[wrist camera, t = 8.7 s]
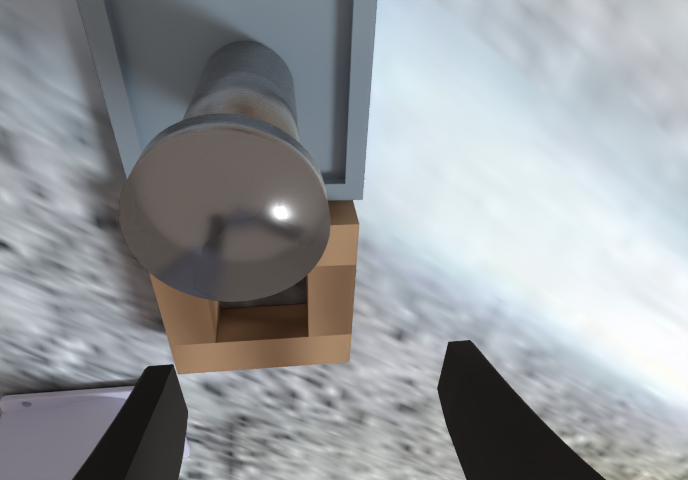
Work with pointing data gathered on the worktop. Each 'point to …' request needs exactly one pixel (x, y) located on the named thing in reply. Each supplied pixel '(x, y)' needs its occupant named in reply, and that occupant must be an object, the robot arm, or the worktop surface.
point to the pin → (229, 186)
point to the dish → (228, 27)
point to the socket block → (271, 316)
